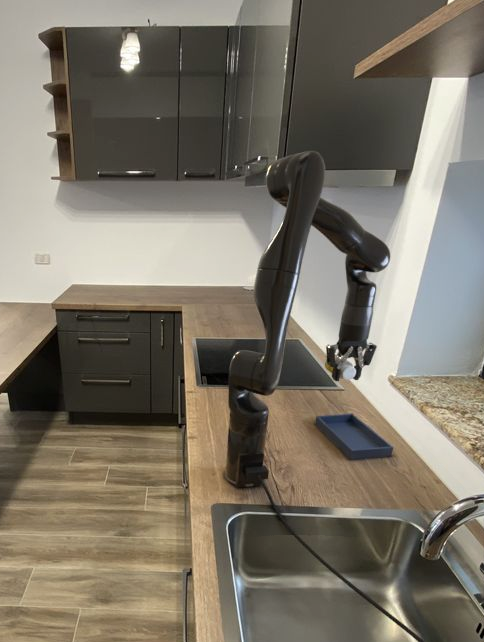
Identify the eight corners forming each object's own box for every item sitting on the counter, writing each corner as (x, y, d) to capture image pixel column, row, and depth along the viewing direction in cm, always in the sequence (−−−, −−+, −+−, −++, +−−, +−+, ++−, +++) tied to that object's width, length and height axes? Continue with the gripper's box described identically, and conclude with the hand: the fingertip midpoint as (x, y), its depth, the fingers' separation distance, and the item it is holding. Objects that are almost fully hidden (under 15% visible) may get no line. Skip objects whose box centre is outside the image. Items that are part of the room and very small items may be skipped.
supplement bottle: (342, 365, 133) (360, 377, 124) (326, 373, 133) (343, 385, 124) (338, 350, 130) (355, 361, 122) (321, 358, 131) (338, 370, 122)
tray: (391, 456, 123) (393, 447, 121) (350, 459, 121) (352, 450, 120) (350, 421, 142) (352, 413, 141) (314, 424, 140) (316, 416, 139)
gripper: (338, 325, 114) (328, 386, 121) (389, 323, 116) (376, 383, 123) (324, 318, 121) (315, 376, 128) (372, 316, 123) (361, 373, 130)
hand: (345, 379), depth 125 cm, fingers closed on supplement bottle, 5 cm apart
